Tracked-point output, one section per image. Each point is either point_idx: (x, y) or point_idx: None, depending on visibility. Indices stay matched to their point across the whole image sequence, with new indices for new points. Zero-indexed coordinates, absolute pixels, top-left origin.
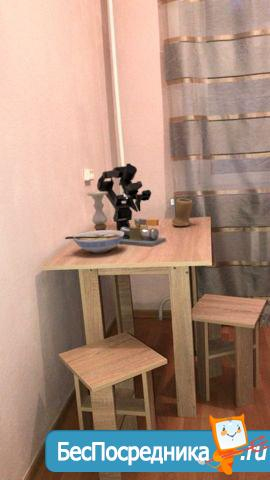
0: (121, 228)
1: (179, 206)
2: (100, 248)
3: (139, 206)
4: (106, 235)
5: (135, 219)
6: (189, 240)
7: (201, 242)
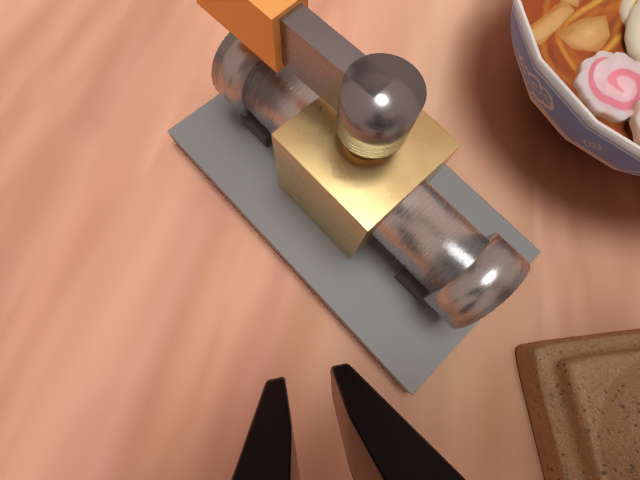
0: (519, 259)
1: None
2: None
3: (263, 461)
4: (637, 65)
5: (413, 97)
6: (36, 87)
7: (10, 10)
